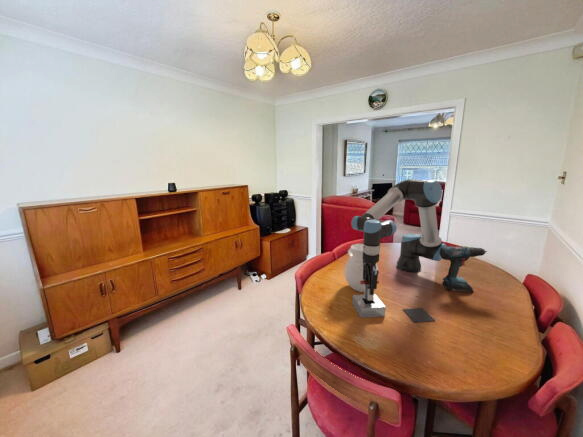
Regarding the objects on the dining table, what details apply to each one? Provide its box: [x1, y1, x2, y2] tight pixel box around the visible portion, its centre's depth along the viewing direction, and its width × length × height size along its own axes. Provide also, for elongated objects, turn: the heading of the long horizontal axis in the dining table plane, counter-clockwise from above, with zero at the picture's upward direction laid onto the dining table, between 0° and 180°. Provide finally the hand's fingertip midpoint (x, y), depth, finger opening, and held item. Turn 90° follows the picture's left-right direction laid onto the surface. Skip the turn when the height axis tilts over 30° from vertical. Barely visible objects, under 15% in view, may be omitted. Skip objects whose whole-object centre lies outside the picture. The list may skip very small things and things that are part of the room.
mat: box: [402, 307, 436, 324], centre depth 118 cm, size 10×10×1 cm
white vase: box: [344, 243, 379, 293], centre depth 142 cm, size 19×18×25 cm
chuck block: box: [352, 293, 387, 319], centre depth 123 cm, size 12×12×5 cm
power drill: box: [440, 245, 488, 293], centre depth 140 cm, size 9×23×25 cm, turn 78°
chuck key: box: [360, 279, 380, 304], centre depth 122 cm, size 9×4×14 cm, turn 95°
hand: (368, 297), depth 122 cm, fingers closed on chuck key, 3 cm apart
